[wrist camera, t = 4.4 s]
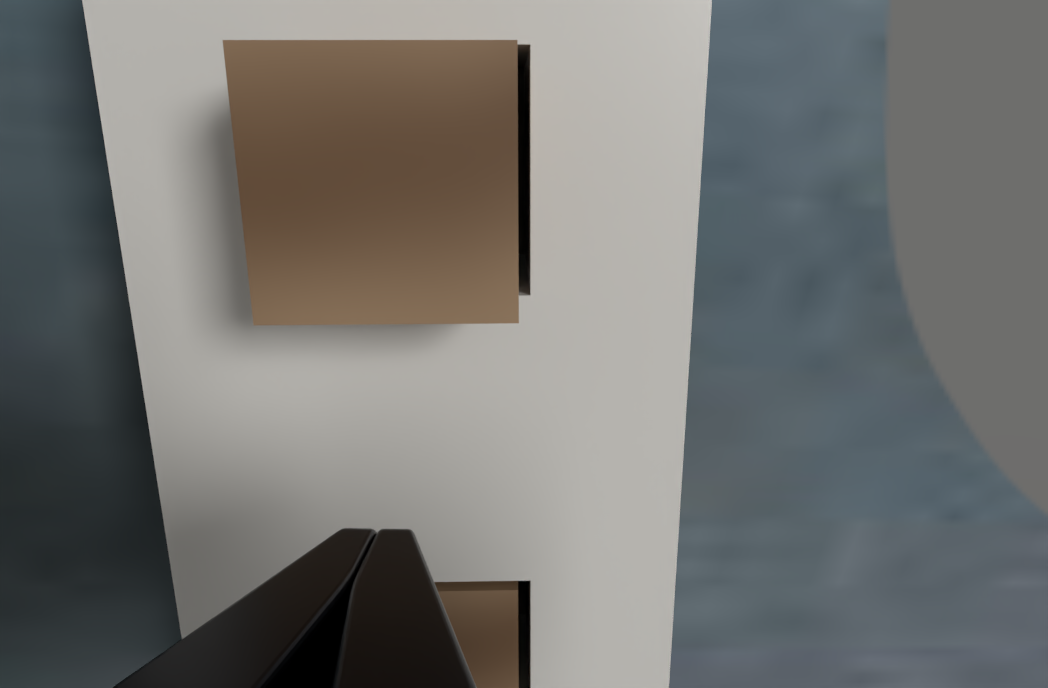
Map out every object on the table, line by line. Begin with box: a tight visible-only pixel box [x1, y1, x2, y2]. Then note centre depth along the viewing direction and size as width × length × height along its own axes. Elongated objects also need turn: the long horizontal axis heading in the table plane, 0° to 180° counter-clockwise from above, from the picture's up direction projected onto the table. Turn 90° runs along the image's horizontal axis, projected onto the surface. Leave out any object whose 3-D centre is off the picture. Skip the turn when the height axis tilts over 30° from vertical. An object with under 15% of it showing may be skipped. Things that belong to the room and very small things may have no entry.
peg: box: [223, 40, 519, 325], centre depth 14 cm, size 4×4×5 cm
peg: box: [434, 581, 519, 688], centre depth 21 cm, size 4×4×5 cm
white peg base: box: [82, 0, 712, 688], centre depth 20 cm, size 24×12×6 cm, turn 0°
